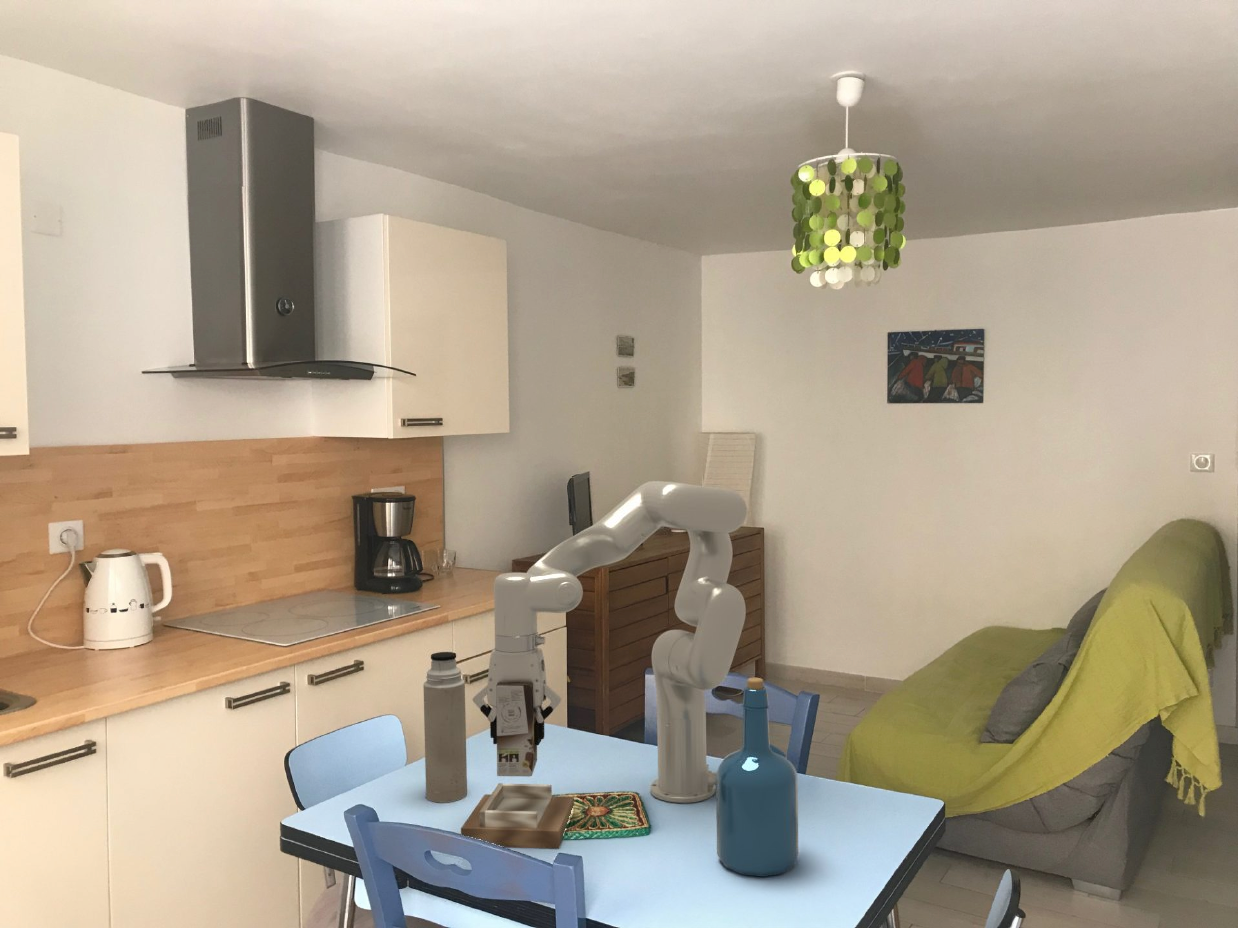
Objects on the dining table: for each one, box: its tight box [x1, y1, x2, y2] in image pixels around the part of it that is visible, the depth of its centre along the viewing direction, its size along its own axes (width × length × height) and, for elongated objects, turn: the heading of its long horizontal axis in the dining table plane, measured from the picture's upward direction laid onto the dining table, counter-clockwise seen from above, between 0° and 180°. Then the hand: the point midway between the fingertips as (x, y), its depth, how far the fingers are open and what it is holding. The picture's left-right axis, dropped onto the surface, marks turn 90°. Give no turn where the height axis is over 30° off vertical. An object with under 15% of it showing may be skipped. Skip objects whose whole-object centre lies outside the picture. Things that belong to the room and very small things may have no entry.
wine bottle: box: [715, 677, 799, 877], centre depth 160 cm, size 14×13×30 cm
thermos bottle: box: [423, 651, 468, 804], centre depth 192 cm, size 8×8×28 cm
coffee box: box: [496, 682, 538, 778], centre depth 174 cm, size 9×6×16 cm
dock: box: [460, 783, 575, 850], centre depth 175 cm, size 17×16×6 cm
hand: (517, 741), depth 175 cm, fingers closed on coffee box, 6 cm apart
